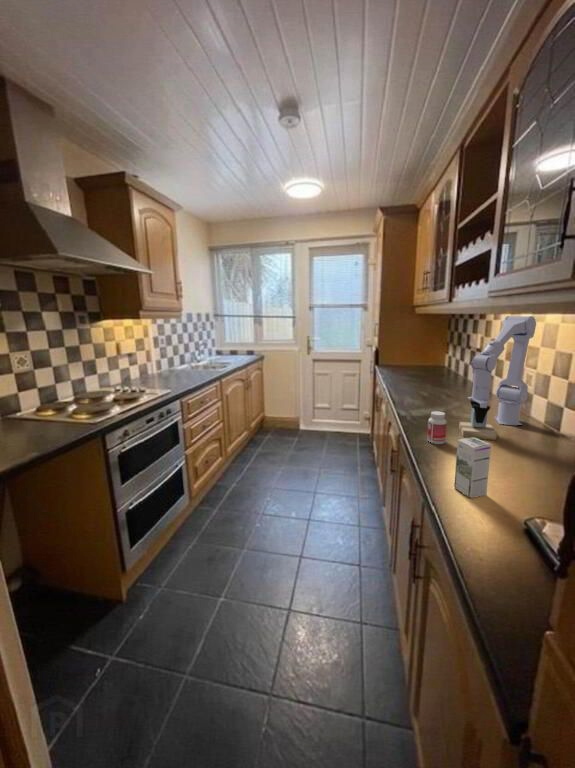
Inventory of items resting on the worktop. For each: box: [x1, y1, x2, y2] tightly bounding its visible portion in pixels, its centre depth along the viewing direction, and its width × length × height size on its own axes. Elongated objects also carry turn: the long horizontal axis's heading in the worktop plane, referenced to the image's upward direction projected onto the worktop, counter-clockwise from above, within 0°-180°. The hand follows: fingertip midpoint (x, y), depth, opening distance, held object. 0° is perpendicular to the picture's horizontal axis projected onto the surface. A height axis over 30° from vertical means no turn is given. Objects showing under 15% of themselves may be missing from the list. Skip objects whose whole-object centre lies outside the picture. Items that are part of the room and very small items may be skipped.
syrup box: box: [453, 437, 492, 498], centre depth 89 cm, size 6×6×14 cm
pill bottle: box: [426, 410, 447, 445], centre depth 123 cm, size 6×6×11 cm
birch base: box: [458, 421, 498, 441], centre depth 131 cm, size 11×11×2 cm
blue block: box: [470, 407, 488, 427], centre depth 130 cm, size 4×4×6 cm
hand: (478, 420), depth 130 cm, fingers closed on blue block, 4 cm apart
